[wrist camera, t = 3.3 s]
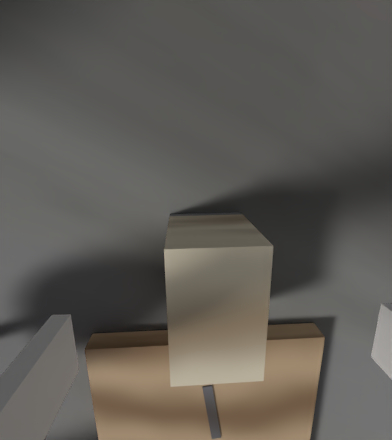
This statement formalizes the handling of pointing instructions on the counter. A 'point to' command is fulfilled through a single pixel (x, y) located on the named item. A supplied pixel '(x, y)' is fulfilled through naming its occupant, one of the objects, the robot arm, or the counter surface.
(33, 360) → the robot arm
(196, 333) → the block
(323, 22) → the counter surface
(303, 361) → the board
